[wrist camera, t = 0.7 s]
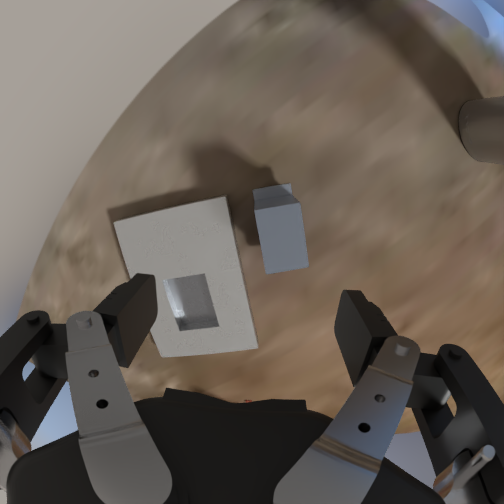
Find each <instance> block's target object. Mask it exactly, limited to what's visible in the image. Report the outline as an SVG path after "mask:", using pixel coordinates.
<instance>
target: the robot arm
mask: <svg viewBox="0 0 504 504" xmlns="http://www.w3.org/2000/svg"><path fill="white" fill-rule="evenodd" d="M459 131H460V136H461V139H462V142H463V144H464V146H465V148H466V150H467V151H468V153H469V154H470V155H471V156H472V157H473V158H474V159H476V160H477V161H481V162H488V163H495V164H501V165H504V96H501V97H492V98H484V99H478V100H472V101H468V102H466V103H465V104H464V105H463V106H462V108H461V110H460V114H459ZM157 314H158V303H157V292H156V280H155V276H154V275H152V274H143V273H136V274H135V275H134V276H133V277H132V278H131V279H130V281H129V282H128V283H126V282H125V283H123V284H121V285H119V286H117V287H116V288H115V289H114V290H113V291H112V292H111V294H109V295H108V296H107V297H106V299H104V300H103V301H102V302H101V303H100V304H99V305H98V306H97V307H96V308H95V309H94V310H93V311H82V312H78V313H75V314H73V315H72V316H70V317H69V318H68V320H67V322H66V324H51V321H50V318H49V315H48V313H46V312H45V311H32V312H29V313H26V314H25V315H23V316H22V317H21V318H20V319H19V320H18V321H17V322H15V323H14V325H12V326H11V327H10V328H9V329H8V330H7V331H6V332H5V333H4V334H3V335H2V336H1V337H0V489H2V490H4V491H5V492H6V493H7V504H504V404H503V403H502V401H501V400H500V398H499V397H498V395H497V394H496V392H495V391H494V389H493V388H492V386H491V385H490V383H489V382H488V380H487V379H486V377H485V376H484V375H483V373H482V372H481V370H480V369H479V368H478V366H477V365H476V363H475V362H474V361H473V359H472V358H471V357H470V355H469V354H468V353H467V352H466V351H465V350H464V349H463V348H461V347H459V346H457V345H454V344H444V345H442V346H441V347H440V349H439V351H438V353H437V355H433V354H426V353H421V352H420V347H419V346H418V344H417V343H416V342H414V341H413V340H411V339H409V338H407V337H404V336H398V335H397V333H396V332H395V330H394V329H393V327H392V326H391V324H390V323H389V321H388V320H387V318H386V317H385V316H384V314H383V312H382V311H381V310H380V308H379V307H377V306H376V305H375V304H373V303H372V302H368V300H367V299H366V297H365V296H364V294H363V293H362V292H361V291H360V290H343V292H342V294H341V298H340V303H339V307H338V311H337V315H336V320H335V326H334V332H335V336H336V339H337V342H338V345H339V347H340V350H341V353H342V356H343V358H344V361H345V364H346V367H347V370H348V373H349V375H350V378H351V381H352V384H353V387H355V389H354V390H353V392H352V393H351V395H350V396H349V398H348V399H347V401H346V402H345V404H344V405H343V407H342V408H341V409H340V411H339V412H338V414H337V415H336V416H335V418H334V419H332V418H330V417H328V416H326V415H324V414H321V413H318V412H315V411H311V410H307V408H306V401H305V400H282V399H269V400H262V401H254V402H246V403H230V402H227V401H223V400H220V399H217V398H214V397H210V396H207V395H204V394H201V393H197V392H190V391H183V390H177V389H171V388H166V390H165V393H164V396H163V397H155V398H148V399H143V400H140V401H136V402H133V400H132V398H131V395H130V393H129V391H128V388H127V386H126V383H125V381H124V378H123V376H122V373H121V370H120V368H119V366H121V367H126V368H128V367H129V366H130V364H131V362H132V360H133V359H134V357H135V355H136V353H137V352H138V350H139V348H140V346H141V345H142V343H143V341H144V340H145V338H146V336H147V334H148V333H149V331H150V329H151V328H152V326H153V324H154V323H155V321H156V318H157ZM30 358H32V360H33V362H34V365H35V368H34V370H33V371H32V372H31V374H30V375H29V376H28V378H27V379H26V380H25V382H24V380H23V376H22V371H23V368H24V366H25V364H26V363H27V362H28V361H29V360H30ZM67 379H69V385H70V392H71V397H72V402H73V408H74V412H75V417H76V422H77V426H78V430H77V431H75V432H73V433H71V434H69V435H67V436H65V437H62V438H60V439H58V440H56V441H53V442H51V443H49V444H46V445H44V446H42V447H39V448H37V449H35V450H32V451H31V443H30V442H31V441H32V438H33V436H34V435H35V433H36V431H37V429H38V428H39V426H40V424H41V422H42V421H43V419H44V417H45V415H46V414H47V412H48V410H49V409H50V406H51V405H52V404H53V402H54V400H55V399H56V397H57V395H58V394H59V392H60V390H61V389H62V387H63V385H64V384H65V382H66V381H67ZM451 395H452V397H453V399H454V400H455V402H456V405H457V411H456V415H455V417H454V416H453V414H452V412H451V410H450V408H449V406H448V404H447V400H448V399H449V397H450V396H451ZM405 407H409V408H412V411H413V413H414V416H415V418H416V421H417V423H418V426H419V429H420V431H421V434H422V436H423V439H424V442H425V445H426V448H427V450H428V453H429V456H430V459H431V462H432V465H433V468H434V471H435V474H436V479H435V481H434V484H433V489H431V488H430V487H428V486H427V485H425V484H424V483H422V482H420V481H419V480H417V479H416V478H414V477H413V476H411V475H410V474H408V473H407V472H405V471H404V470H403V469H401V468H400V467H398V466H397V465H395V464H394V463H392V462H391V461H390V460H388V459H387V458H385V457H384V455H385V453H386V451H387V449H388V447H389V445H390V443H391V440H392V438H393V436H394V434H395V431H396V429H397V427H398V424H399V422H400V419H401V417H402V414H403V412H404V409H405Z"/></svg>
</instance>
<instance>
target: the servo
mask: <svg viewBox="0 0 504 504" xmlns="http://www.w3.org/2000/svg"><path fill="white" fill-rule="evenodd" d="M253 195H254V201H255V204H254V212H255V218H256V223H257V228H258V234H259V239H260V244H261V250H262V255H263V260H264V266H265V271H266V274H271V273H277V272H283V271H289V270H294V269H300V268H306V267H309V264H308V256H307V248H306V240H305V233H304V226H303V219H302V212H301V205H300V202H299V201H298V200H297V199H296V198H295V197H294V196H293V195H292V190H291V184H290V183H287V184H281V185H275V186H269V187H263V188H258V189H253Z"/></svg>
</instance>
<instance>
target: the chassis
mask: <svg viewBox="0 0 504 504" xmlns="http://www.w3.org/2000/svg"><path fill="white" fill-rule="evenodd" d="M113 223H114V226H115V230H116V233H117V237H118V240H119V244H120V247H121V250H122V254H123V257H124V260H125V263H126V266H127V269H128V272H129V275H130V278H132V277H133V276H134V275H135V274H136V273H143V274H152V275H154V276H155V280H156V292H157V303H158V314H157V318H156V321H155V323H154V324H153V326H152V328H151V329H150V331H151V334H152V336H153V338H154V341H155V343H156V345H157V348H158V350H159V352H160V354H161V357H176V356H190V355H202V354H213V353H223V352H232V351H240V350H248V349H255V348H258V337H257V332H256V328H255V323H254V319H253V314H252V310H251V305H250V301H249V296H248V291H247V287H246V282H245V277H244V273H243V268H242V264H241V259H240V254H239V249H238V245H237V240H236V235H235V230H234V226H233V221H232V216H231V211H230V206H229V202H228V197H227V195H221V196H217V197H212V198H207V199H202V200H197V201H193V202H188V203H184V204H179V205H175V206H171V207H166V208H162V209H158V210H154V211H150V212H146V213H142V214H138V215H134V216H130V217H126V218H122V219H119V220H117V221H115V222H113Z"/></svg>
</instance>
